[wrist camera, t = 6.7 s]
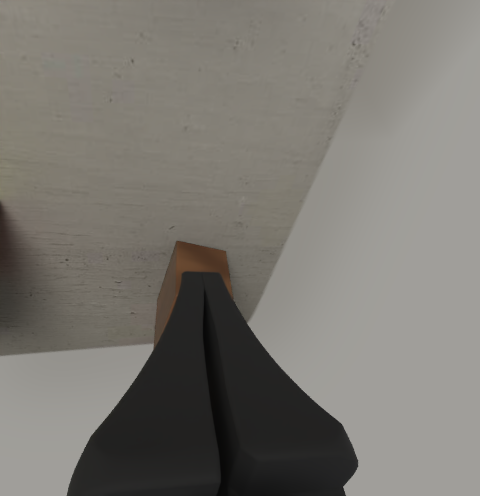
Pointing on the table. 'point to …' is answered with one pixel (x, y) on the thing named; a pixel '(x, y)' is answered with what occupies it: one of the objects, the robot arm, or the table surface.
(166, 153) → the table surface
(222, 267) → the wooden block
